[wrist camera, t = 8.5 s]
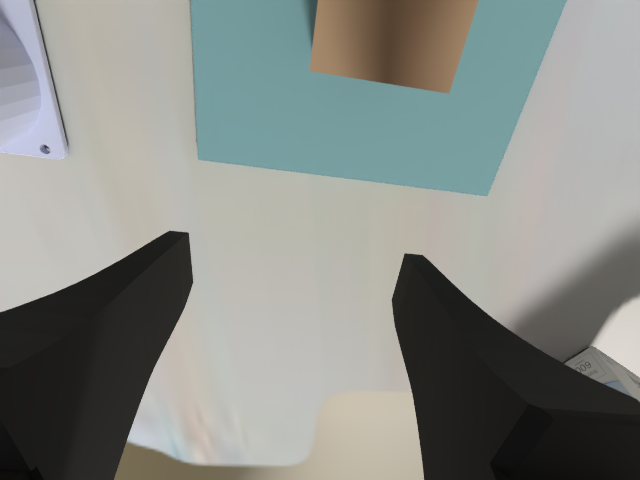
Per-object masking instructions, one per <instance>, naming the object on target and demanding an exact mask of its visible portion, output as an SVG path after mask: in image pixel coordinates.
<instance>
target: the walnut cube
mask: <svg viewBox="0 0 640 480" xmlns="http://www.w3.org/2000/svg"><path fill="white" fill-rule="evenodd" d="M478 1H479V0H318V4H317V13H316V21H315V29H314V37H313V46H312V54H311V62H310V70H309V71H312V72H318V73H324V74H330V75H337V76H343V77H349V78H355V79H361V80H367V81H374V82H380V83H386V84H392V85H398V86H404V87H411V88H417V89H423V90H429V91H435V92H441V93H448V94H449V93H450V90H451V87H452V83H453V80H454V77H455V74H456V71H457V67H458V64H459V61H460V58H461V55H462V51H463V48H464V45H465V42H466V39H467V36H468V32H469V29H470V26H471V23H472V20H473V16H474V13H475V10H476V7H477V4H478Z"/></svg>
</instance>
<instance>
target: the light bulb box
mask: <svg viewBox="0 0 640 480" xmlns="http://www.w3.org/2000/svg"><path fill="white" fill-rule="evenodd" d="M564 364H565V365H567V366H569V367H571V368H573V369H575V370H576V371H578V372H580V373H582V374H584V375H586V376H588V377H590V378H592V379H594V380H596V381H598V382H601V383H603V384H605V385H607V386H609V387H612V388H614V389H616V390H618V391H620V392H622V393H625V394H627V395H629V396H631V397H633V398H636V399H637V400H638V401H639V402H640V378H639V377H638V376H636V375H635V374H633V373H632V372H630V371H629V370H628V369H626V368H625V367H623V366H622V365H620V364H619V363H617V362H616V361H614V360H613V359H611V358H610V357H609V356H607V355H606V354H604V353H603V352H601V351H600V350H598V349H597V348H595V347H593V346H591V347H589V348H588V349H586V350H585V351H583V352H582V353H580V354H579V355H577V356H575V357H574V358H572V359H570V360H569V361H567V362H566V363H564Z"/></svg>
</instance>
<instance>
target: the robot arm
mask: <svg viewBox="0 0 640 480" xmlns="http://www.w3.org/2000/svg"><path fill="white" fill-rule="evenodd" d="M44 145H46V146H48V147H49V149H50V151H48V150H46V148H45V146H44ZM0 152H2V153H10V154H18V155H26V156H34V157H42V158H50V159H62V158H64V157H66V156H67V155H68V146H67V142H66V137H65V133H64V129H63V125H62V120H61V116H60V112H59V108H58V103H57V99H56V95H55V91H54V86H53V82H52V78H51V74H50V69H49V65H48V61H47V57H46V53H45V48H44V44H43V40H42V36H41V31H40V27H39V23H38V19H37V14H36V10H35V6H34V2H33V0H0ZM192 284H193V275H192V265H191V254H190V243H189V233H187V232H176V231H169V232H167V233H165V234H163V235H161V236H160V237H158V238H156V239H155V240H153V241H151V242H150V243H148V244H146V245H145V246H143V247H142V248H140V249H138V250H137V251H135V252H133V253H132V254H130V255H128V256H127V257H125V258H123V259H122V260H120V261H118V262H116V263H114V264H112V265H111V266H109V267H107V268H105V269H103V270H101V271H100V272H98V273H96V274H94V275H92V276H90V277H88V278H86V279H84V280H82V281H80V282H78V283H76V284H73V285H71V286H69V287H67V288H64V289H62V290H60V291H57V292H55V293H53V294H50V295H47V296H45V297H42V298H39V299H37V300H34V301H31V302H29V303H26V304H23V305H21V306H18V307H15V308H12V309H9V310H6V311H3V312H0V480H114V477H115V474H116V471H117V468H118V465H119V462H120V459H121V456H122V453H123V450H124V447H125V444H126V441H127V438H128V435H129V432H130V429H131V427H132V424H133V421H134V418H135V415H136V413H137V410H138V407H139V404H140V402H141V399H142V397H143V394H144V391H145V389H146V386H147V383H148V381H149V378H150V376H151V374H152V372H153V369H154V367H155V365H156V363H157V361H158V359H159V357H160V355H161V353H162V351H163V349H164V347H165V345H166V343H167V341H168V339H169V338H170V336H171V334H172V332H173V330H174V328H175V326H176V324H177V322H178V320H179V318H180V316H181V314H182V312H183V310H184V308H185V305H186V302H187V299H188V296H189V293H190V290H191V287H192ZM392 306H393V315H394V322H395V328H396V332H397V336H398V340H399V344H400V347H401V351H402V355H403V359H404V362H405V366H406V370H407V373H408V377H409V381H410V385H411V389H412V394H413V399H414V405H415V412H416V417H417V424H418V432H419V439H420V446H421V454H422V462H423V471H424V480H640V402H639V401H638V400H637V399H636V398H633V397H631V396H629V395H627V394H625V393H622V392H620V391H618V390H616V389H614V388H612V387H609V386H607V385H605V384H603V383H601V382H598V381H596V380H594V379H592V378H590V377H588V376H586V375H584V374H582V373H580V372H578V371H576V370H575V369H573V368H571V367H569V366H567V365H565V364H563V363H561V362H560V361H558V360H556V359H554V358H552V357H551V356H549V355H547V354H545V353H544V352H542V351H541V350H539V349H537V348H536V347H534V346H532V345H531V344H529V343H528V342H526V341H524V340H523V339H521V338H520V337H518V336H517V335H515V334H514V333H512V332H511V331H510V330H508V329H507V328H505V327H504V326H503V325H501V324H500V323H498V322H497V321H496V320H494V319H493V318H492V317H491V316H489V315H488V314H487V313H485V312H484V311H483V310H482V309H481V308H479V307H478V306H477V305H476V304H475V303H473V302H472V301H471V300H470V299H469V298H468V297H467V296H465V295H464V294H463V293H462V292H461V291H460V290H459V289H458V288H457V287H456V286H455V285H454V284H452V283H451V282H450V281H449V280H448V279H447V278H446V277H445V276H444V275H443V274H442V273H441V272H440V271H439V270H438V269H437V268H436V267H435V266H434V265H433V264H432V263H431V262H430V261H429V260H428V259H426V258H425V257H424V256H423V255H416V254H404V258H403V262H402V265H401V269H400V272H399V276H398V280H397V283H396V287H395V290H394V294H393V298H392Z"/></svg>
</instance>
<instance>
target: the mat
mask: <svg viewBox="0 0 640 480" xmlns="http://www.w3.org/2000/svg"><path fill="white" fill-rule="evenodd" d="M566 1H567V0H479V1H478V4H477V7H476V10H475V13H474V16H473V20H472V23H471V26H470V29H469V32H468V36H467V39H466V42H465V45H464V48H463V51H462V55H461V58H460V61H459V64H458V67H457V71H456V74H455V77H454V80H453V83H452V87H451V90H450V93H449V94H448V93H441V92H435V91H429V90H423V89H417V88H411V87H404V86H398V85H392V84H386V83H380V82H374V81H367V80H361V79H355V78H349V77H343V76H337V75H330V74H324V73H318V72H312V71H309V70H310V62H311V54H312V46H313V37H314V29H315V21H316V13H317V4H318V0H191V19H192V41H193V62H194V84H195V105H196V127H197V148H198V160H204V161H212V162H220V163H228V164H236V165H244V166H252V167H260V168H268V169H276V170H284V171H292V172H299V173H307V174H315V175H323V176H331V177H339V178H347V179H355V180H363V181H371V182H379V183H387V184H395V185H403V186H410V187H418V188H426V189H434V190H442V191H450V192H458V193H466V194H474V195H482V196H488V193H489V191H490V188H491V186H492V183H493V181H494V178H495V176H496V173H497V171H498V168H499V166H500V163H501V161H502V158H503V156H504V154H505V151H506V149H507V146H508V144H509V141H510V139H511V136H512V134H513V131H514V129H515V126H516V124H517V121H518V119H519V117H520V114H521V112H522V109H523V107H524V104H525V102H526V99H527V97H528V94H529V92H530V89H531V87H532V84H533V82H534V80H535V77H536V75H537V72H538V70H539V67H540V65H541V62H542V60H543V57H544V55H545V52H546V50H547V47H548V45H549V42H550V40H551V38H552V35H553V33H554V30H555V28H556V25H557V23H558V20H559V18H560V15H561V13H562V10H563V8H564V5H565V3H566Z"/></svg>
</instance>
